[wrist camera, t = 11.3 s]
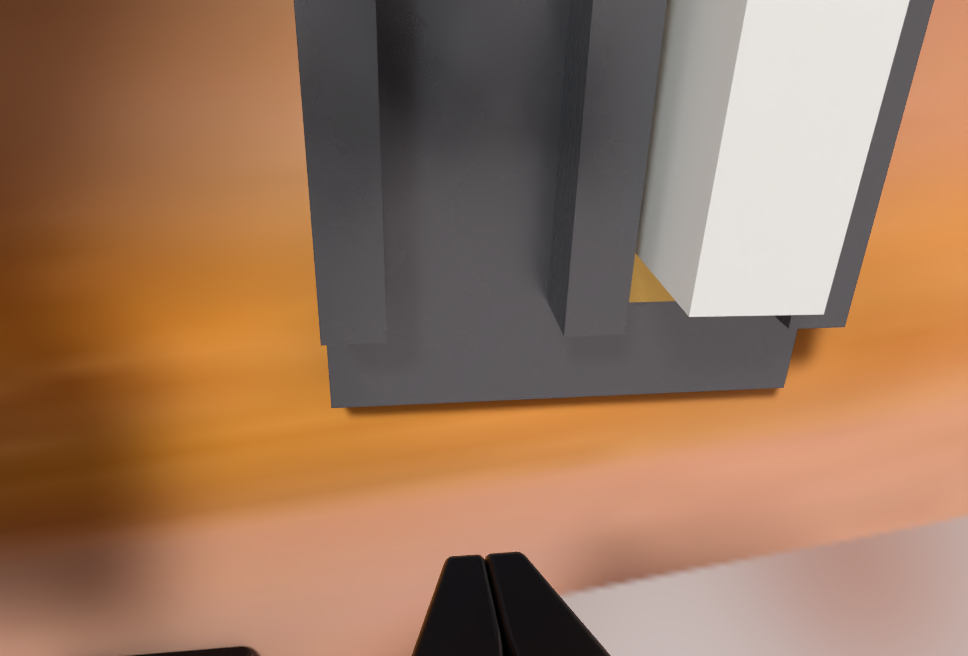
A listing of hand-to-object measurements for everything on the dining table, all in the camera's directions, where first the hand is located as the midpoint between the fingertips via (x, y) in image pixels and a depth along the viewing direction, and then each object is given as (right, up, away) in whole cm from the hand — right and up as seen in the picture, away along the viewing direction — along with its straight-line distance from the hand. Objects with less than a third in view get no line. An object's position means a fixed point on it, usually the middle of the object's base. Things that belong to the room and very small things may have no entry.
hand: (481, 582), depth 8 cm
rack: (+2, +8, +10) cm, 13 cm away
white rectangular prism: (+5, +8, +9) cm, 14 cm away
